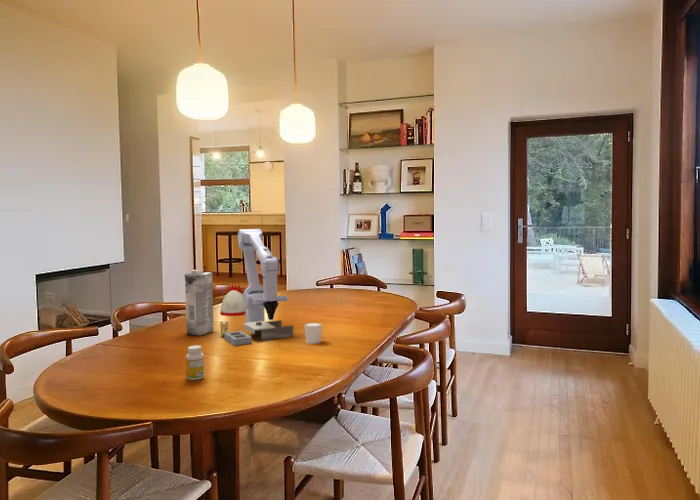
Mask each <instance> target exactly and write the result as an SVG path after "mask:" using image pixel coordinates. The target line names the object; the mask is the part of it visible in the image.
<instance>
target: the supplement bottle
mask: <svg viewBox="0 0 700 500" xmlns="http://www.w3.org/2000/svg"><path fill="white" fill-rule="evenodd" d="M187 352H188V353H187V354H186V355H185V368H186V369H185V371H186V373H185V374H186V379H188V380H190V381H196V380H201V379H204V378H205V354H204V353H203V352H202V345H199V344H198V345H190V346H188V347H187Z"/></svg>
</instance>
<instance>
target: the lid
mask: <svg viewBox="0 0 700 500" xmlns="http://www.w3.org/2000/svg"><path fill="white" fill-rule="evenodd" d="M266 322H267V321H265V322H264V321H256V322H248V323H246V322H243V324H242V325H243V326H244V325H245V326H244V330H246V331H248V332H249V333H250V334H251V333H253V335H256V334H255V330H263V329H270V328H275V326H273V325H271V324H269V323H266Z"/></svg>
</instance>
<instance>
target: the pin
mask: <svg viewBox="0 0 700 500" xmlns="http://www.w3.org/2000/svg"><path fill="white" fill-rule="evenodd" d="M219 323H220V325H219V326H220V338H225V333H229V321H226V320H224V321H220V322H219Z"/></svg>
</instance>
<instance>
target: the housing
mask: <svg viewBox="0 0 700 500" xmlns="http://www.w3.org/2000/svg"><path fill="white" fill-rule="evenodd" d="M265 322H266V323H269V324H271V325H273V326H275V328H270V329H263V330H255V334H253V333H251V332H250V335H258V334H260V337H261V338H260V339H261V340H260V341H262V342H263V341H270V340H276V339H283V338H291V337H294V325H291V324H290V325H283V326H282V319H280V320H279V319H278V320H269V321H265Z"/></svg>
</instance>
